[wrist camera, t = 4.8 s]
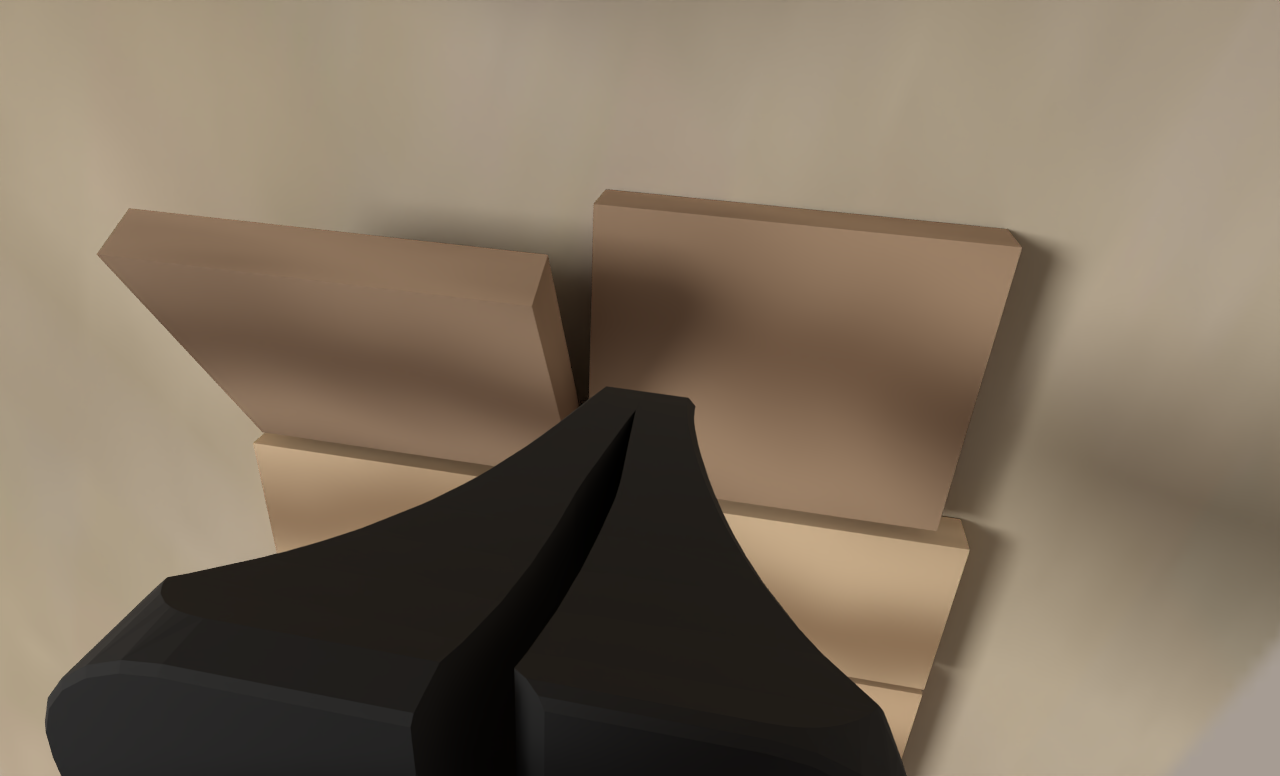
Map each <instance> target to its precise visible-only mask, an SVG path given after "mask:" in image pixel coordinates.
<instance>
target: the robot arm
mask: <svg viewBox="0 0 1280 776" xmlns="http://www.w3.org/2000/svg"><path fill="white" fill-rule="evenodd" d="M694 415H695V405H694V404H693V402H692V401H691V400H690V399H689V398H688V397H680V396H673V395H666V394H659V393H651V392H644V391H637V390H630V389H622V388H615V387H608V386H606V387H605V388H603V389H602V390H601V391H599V392H598V393H596V394H595V395H594V396H592V397H591V398H590V399H588V400H587V401H586V402H585V403H583V404H582V405H581V406H579V407H578V408H577V409H576V410H574V411H573V412H572V413H571V414H569V415H568V416H567V417H565V418H564V419H563V420H561V421H560V422H559V423H558V424H556V425H555V426H554V427H552V428H551V429H549V430H548V431H547V432H545V433H544V434H543V435H541V436H540V437H538V438H537V439H536V440H534V441H533V442H532V443H530V444H529V445H527V446H526V447H524V448H523V449H521V450H519V451H518V452H516V453H515V454H513V455H512V456H510V457H508V458H507V459H505V460H504V461H502V462H501V463H499V464H498V465H496V466H494V467H493V468H491V469H490V470H488V471H486V472H484V473H483V474H481V475H479V476H477V477H476V478H474V479H472V480H470V481H468V482H466V483H464V484H463V485H461V486H458V487H456V488H454V489H452V490H450V491H448V492H446V493H444V494H442V495H440V496H438V497H436V498H434V499H432V500H430V501H428V502H425V503H423V504H421V505H418V506H416V507H413V508H411V509H408V510H406V511H403V512H401V513H398V514H396V515H393V516H391V517H388V518H386V519H383V520H381V521H378V522H376V523H373V524H371V525H368V526H366V527H363V528H360V529H357V530H354V531H351V532H348V533H345V534H342V535H339V536H336V537H333V538H330V539H327V540H324V541H320V542H317V543H313V544H310V545H306V546H303V547H299V548H296V549H292V550H289V551H285V552H281V553H277V554H274V555H270V556H266V557H262V558H257V559H253V560H248V561H244V562H239V563H234V564H230V565H225V566H221V567H216V568H211V569H207V570H202V571H198V572H193V573H188V574H183V575H177V576H172V577H167V578H166V579H165V580H164V581H163V582H162V583H161V584H159V585H158V586H157V587H156V588H155V589H154V590H153V591H152V592H151V593H150V594H149V595H148V596H147V597H146V598H145V599H143V600H142V601H141V602H140V603H139V604H138V605H137V606H136V607H135V608H134V609H133V610H132V611H131V612H130V613H129V614H128V615H127V616H126V617H125V618H124V619H123V620H122V621H121V622H120V623H119V624H118V625H116V626H115V627H114V628H113V629H112V630H111V631H110V632H109V633H108V634H107V635H106V636H105V637H104V638H103V639H102V640H101V641H100V642H99V643H98V644H97V645H96V646H95V647H94V648H93V649H92V650H91V651H89V652H88V653H87V654H86V655H85V656H84V657H83V658H82V659H81V660H80V661H79V662H78V663H77V664H76V665H75V666H74V667H73V668H72V669H71V670H70V671H69V672H68V673H67V674H66V675H65V676H64V677H62V679H61V680H60V681H59V683H58V684H57V686H56V687H55V689H54V690H53V691H52V693H51V694H50V696H49V697H48V701H47V710H46V718H45V727H46V734H47V738H48V741H49V745H50V748H51V752H52V755H53V758H54V761H55V763H56V765H57V767H58V770H59V772H60V774H61V776H907V775H906V772H905V769H904V766H903V763H902V760H901V756H900V753H899V751H898V748H897V745H896V742H895V740H894V737H893V734H892V732H891V729H890V726H889V723H888V721H887V718H886V716H885V713H884V711H883V710H882V708H881V707H880V706H879V705H878V704H877V703H876V702H875V701H874V700H873V699H872V698H870V697H869V696H868V695H867V694H866V693H865V692H864V691H863V690H862V689H861V688H859V687H858V686H857V685H856V684H855V683H854V682H853V681H852V680H851V679H850V678H848V677H847V676H846V675H845V674H844V673H843V672H842V671H841V670H840V669H839V668H837V667H836V666H835V665H834V664H833V663H832V662H831V661H830V660H829V659H828V658H826V657H825V656H824V655H823V654H822V653H821V652H820V651H819V650H818V649H817V648H816V646H815V645H814V644H813V643H812V642H811V641H810V640H809V639H808V638H807V637H806V636H805V635H804V633H803V632H802V631H801V630H800V629H799V628H798V627H797V625H796V624H795V623H794V621H793V620H792V619H791V618H790V616H789V615H788V614H787V612H786V611H785V610H784V609H783V607H782V606H781V605H780V604H779V602H778V601H777V600H776V598H775V597H774V596H773V595H772V593H771V592H770V591H769V589H768V588H767V587H766V586H765V584H764V583H763V581H762V580H761V578H760V577H759V575H758V574H757V572H756V571H755V569H754V567H753V566H752V564H751V563H750V561H749V560H748V558H747V557H746V555H745V553H744V551H743V550H742V548H741V546H740V544H739V543H738V541H737V539H736V538H735V536H734V534H733V532H732V530H731V528H730V526H729V524H728V522H727V520H726V518H725V516H724V514H723V512H722V509H721V507H720V505H719V503H718V500H717V498H716V496H715V493H714V491H713V488H712V486H711V483H710V480H709V478H708V475H707V471H706V468H705V465H704V462H703V459H702V456H701V453H700V449H699V445H698V441H697V436H696V431H695V424H694Z"/></svg>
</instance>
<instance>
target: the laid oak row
mask: <svg viewBox="0 0 1280 776" xmlns="http://www.w3.org/2000/svg"><path fill="white" fill-rule="evenodd" d="M253 445H254V449H255V454H256V458H257V463H258V468H259V472H260V477H261V482H262V486H263V491H264V496H265V500H266V505H267V509H268V514H269V519H270V523H271V528H272V533H273V537H274V542H275V546H276V551H277V553H281V552H285V551H289V550H292V549H296V548H299V547H303V546H306V545H310V544H313V543H317V542H320V541H324V540H327V539H330V538H333V537H336V536H339V535H342V534H345V533H348V532H351V531H354V530H357V529H360V528H363V527H366V526H368V525H371V524H373V523H376V522H378V521H381V520H383V519H386V518H388V517H391V516H393V515H396V514H398V513H401V512H403V511H406V510H408V509H411V508H413V507H416V506H418V505H421V504H423V503H425V502H428V501H430V500H432V499H434V498H436V497H438V496H440V495H442V494H444V493H446V492H448V491H450V490H452V489H454V488H456V487H458V486H461V485H463V484H464V483H466V482H468V481H470V480H472V479H474V478H476V477H477V476H479V475H481V474H483V473H484V472H486V471H488V470H490V469H491V468H493V467H494V466H489V465H483V464H476V463H469V462H462V461H455V460H449V459H442V458H435V457H428V456H421V455H415V454H408V453H401V452H394V451H387V450H381V449H374V448H367V447H360V446H353V445H346V444H340V443H333V442H326V441H319V440H312V439H306V438H299V437H292V436H285V435H278V434H272V433H264V434H263V435H262V436H261V437H260V438H258V439H257V440H256V441H255V442H254V443H253ZM717 500H718V503H719V505H720V507H721V509H722V512H723V514H724V516H725V518H726V520H727V522H728V524H729V526H730V528H731V530H732V532H733V534H734V536H735V538H736V539H737V541H738V543H739V544H740V546H741V548H742V550H743V551H744V553H745V555H746V557H747V558H748V560H749V561H750V563H751V564H752V566H753V567H754V569H755V571H756V572H757V574H758V575H759V577H760V578H761V580H762V581H763V583H764V584H765V586H766V587H767V588H768V589H769V591H770V592H771V593H772V595H773V596H774V597H775V598H776V600H777V601H778V602H779V604H780V605H781V606H782V607H783V609H784V610H785V611H786V612H787V614H788V615H789V616H790V618H791V619H792V620H793V621H794V623H795V624H796V625H797V627H798V628H799V629H800V630H801V631H802V632H803V633H804V635H805V636H806V637H807V638H808V639H809V640H810V641H811V642H812V643H813V644H814V645H815V646H816V648H817V649H818V650H819V651H820V652H821V653H822V654H823V655H824V656H825V657H826V658H828V659H829V660H830V661H831V662H832V663H833V664H834V665H835V666H836V667H837V668H839V669H840V670H841V671H842V672H843V673H844V674H845V675H846V676H847V677H848V678H850V679H851V680H852V681H853V682H854V683H855V684H856V685H857V686H858V687H859V688H861V689H862V690H863V691H864V692H865V693H866V694H867V695H868V696H869V697H870V698H872V699H873V700H874V701H875V702H876V703H877V704H878V705H879V706H880V707H881V708H882V710H883V711H884V713H885V716H886V718H887V721H888V723H889V726H890V729H891V732H892V734H893V737H894V740H895V742H896V745H897V748H898V751H899V753H900V756H901V759H902V756H903V753H904V750H905V747H906V744H907V740H908V737H909V734H910V731H911V728H912V725H913V722H914V719H915V716H916V713H917V710H918V707H919V704H920V701H921V698H922V690H921V689H923V690H924V689H925V685H926V682H927V679H928V676H929V673H930V670H931V667H932V664H933V661H934V658H935V655H936V652H937V649H938V646H939V643H940V640H941V637H942V634H943V630H944V627H945V624H946V621H947V618H948V615H949V612H950V609H951V606H952V603H953V600H954V597H955V594H956V591H957V588H958V585H959V582H960V578H961V575H962V572H963V569H964V566H965V563H966V560H967V557H968V554H969V551H970V549H969V545H968V542H967V539H966V536H965V532H964V529H963V526H962V522H961V519H956V518H949V517H942V516H941V519H940V523H939V526H938V529H937V531H932V530H925V529H918V528H911V527H905V526H898V525H891V524H884V523H877V522H871V521H864V520H857V519H850V518H843V517H837V516H830V515H823V514H816V513H809V512H803V511H796V510H789V509H782V508H775V507H769V506H762V505H755V504H748V503H741V502H734V501H728V500H721V499H717Z"/></svg>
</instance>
